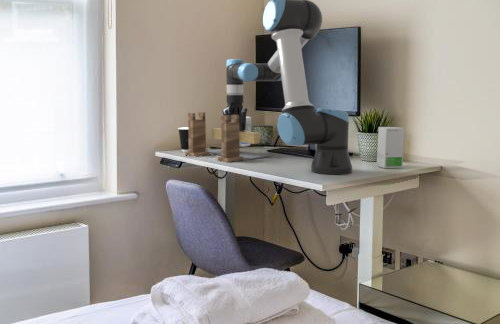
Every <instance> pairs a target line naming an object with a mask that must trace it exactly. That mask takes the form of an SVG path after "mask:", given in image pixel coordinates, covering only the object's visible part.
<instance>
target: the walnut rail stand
mask: <svg viewBox="0 0 500 324" xmlns="http://www.w3.org/2000/svg"><path fill="white" fill-rule="evenodd" d="M187 115H188V117H187V119H188V121H187V123H188V124H187V125H188V126H187V127H188V135H189V152H184V153H185V155H189V156H188V157H192V156H193V157H192V158H194V156H197V157H203V156H210V154H209V151H208V150H207V143H206V142H207V141H206V140H207V139H206V136H207V135H206V134H207V133H206V127H207V126H206V112H205V111H203V112H202V111H201V112H197V117H198V118H196V112H188V114H187ZM220 119H221V121H220V122H221V125H220V128H221V139H220V141H221V147H220V149H222V155H221V156H219V157H217V162H222V161H223V163H232V161H234V162H241V161H243V160H244V159H243V156H239V151H240V147H239V115H231V122H229V116H225V115H223V114H222V115H221V117H220Z"/></svg>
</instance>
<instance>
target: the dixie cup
mask: <svg viewBox="0 0 500 324" xmlns="http://www.w3.org/2000/svg"><path fill="white" fill-rule="evenodd" d="M177 129H178V136H179V142H180V149H181V152H183V153H185V152H189V135H188V126H185V127H177Z"/></svg>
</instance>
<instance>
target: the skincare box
mask: <svg viewBox="0 0 500 324" xmlns="http://www.w3.org/2000/svg"><path fill="white" fill-rule="evenodd" d="M377 128H378V129H377V132H378V133H377V152H376V153H377V154H376V166H377V167H379V168H381V169H382V168H383V169H402V168H403V166H404V165H403V164H404V162H403V161H404V147H405V146H404V142H405V127H397V126H378V127H377Z"/></svg>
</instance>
